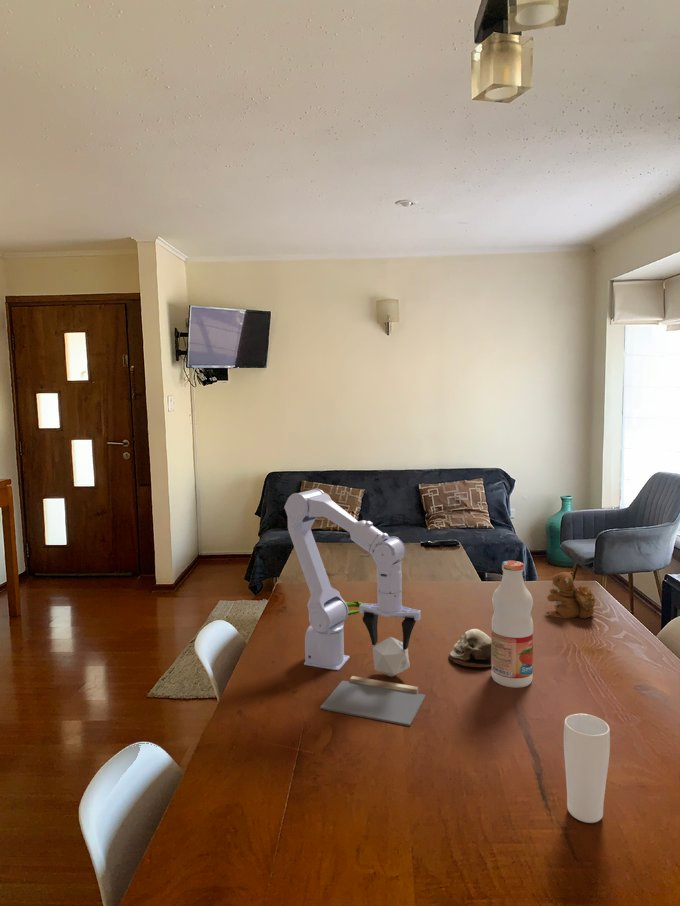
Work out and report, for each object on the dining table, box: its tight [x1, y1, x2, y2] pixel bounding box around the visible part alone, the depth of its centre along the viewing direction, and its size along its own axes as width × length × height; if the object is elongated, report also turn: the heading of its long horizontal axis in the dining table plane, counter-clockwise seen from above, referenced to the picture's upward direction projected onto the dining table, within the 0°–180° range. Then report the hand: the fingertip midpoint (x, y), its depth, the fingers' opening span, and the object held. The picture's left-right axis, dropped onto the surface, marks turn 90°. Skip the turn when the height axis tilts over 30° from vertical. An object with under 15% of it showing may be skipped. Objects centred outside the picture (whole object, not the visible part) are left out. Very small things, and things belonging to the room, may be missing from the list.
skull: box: [448, 628, 491, 668], centre depth 153 cm, size 12×10×10 cm
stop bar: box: [349, 675, 419, 694], centre depth 140 cm, size 16×1×1 cm, turn 68°
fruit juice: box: [490, 560, 534, 689], centre depth 141 cm, size 9×9×28 cm
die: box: [371, 636, 411, 678], centre depth 144 cm, size 8×9×10 cm
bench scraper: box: [319, 680, 426, 727], centre depth 133 cm, size 20×13×1 cm, turn 68°
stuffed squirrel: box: [546, 571, 596, 619], centre depth 182 cm, size 10×14×13 cm
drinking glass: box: [563, 713, 611, 824], centre depth 96 cm, size 7×7×15 cm
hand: (390, 645), depth 143 cm, fingers open, 7 cm apart
